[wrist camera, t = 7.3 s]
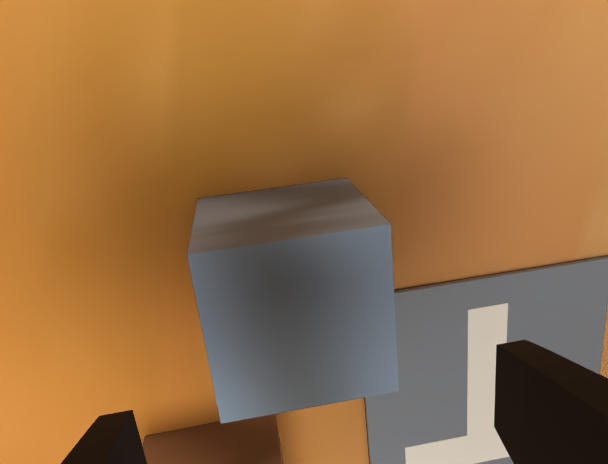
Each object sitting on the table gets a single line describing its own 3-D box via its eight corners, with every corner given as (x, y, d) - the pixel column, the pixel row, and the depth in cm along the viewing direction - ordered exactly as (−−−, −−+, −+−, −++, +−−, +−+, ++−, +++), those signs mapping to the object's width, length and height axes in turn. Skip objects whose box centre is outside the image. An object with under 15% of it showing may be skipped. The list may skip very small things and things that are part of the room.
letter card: (609, 255, 20) (613, 257, 19) (586, 457, 23) (589, 460, 23) (356, 297, 19) (358, 299, 18) (372, 501, 22) (373, 505, 22)
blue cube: (346, 177, 17) (390, 224, 13) (356, 307, 19) (398, 391, 14) (197, 198, 17) (187, 254, 12) (221, 329, 18) (220, 423, 14)
